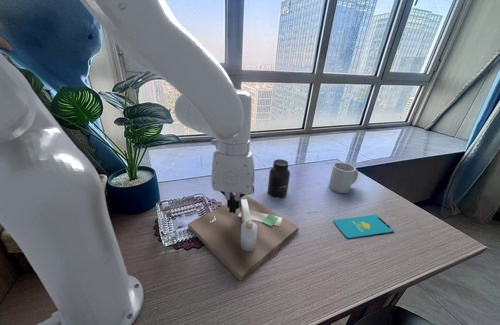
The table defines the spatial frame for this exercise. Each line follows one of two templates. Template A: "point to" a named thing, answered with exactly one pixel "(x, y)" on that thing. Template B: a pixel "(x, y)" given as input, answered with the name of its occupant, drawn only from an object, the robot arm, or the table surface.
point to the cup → (342, 177)
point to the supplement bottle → (279, 179)
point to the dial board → (229, 236)
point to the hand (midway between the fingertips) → (233, 209)
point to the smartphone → (362, 226)
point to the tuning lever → (247, 227)
